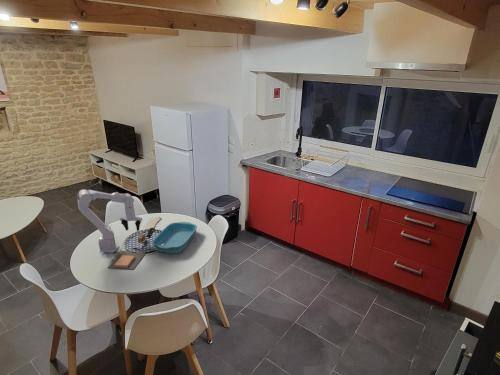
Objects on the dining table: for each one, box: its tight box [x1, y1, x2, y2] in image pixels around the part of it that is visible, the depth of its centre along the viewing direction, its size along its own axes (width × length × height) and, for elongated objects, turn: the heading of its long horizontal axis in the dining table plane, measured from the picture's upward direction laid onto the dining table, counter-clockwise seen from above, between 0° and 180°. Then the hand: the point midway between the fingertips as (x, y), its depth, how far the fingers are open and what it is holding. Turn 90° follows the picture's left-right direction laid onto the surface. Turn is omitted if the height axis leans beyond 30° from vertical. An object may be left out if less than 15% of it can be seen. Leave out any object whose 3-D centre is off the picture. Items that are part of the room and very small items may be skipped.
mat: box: [107, 250, 146, 271], centre depth 195 cm, size 16×18×1 cm
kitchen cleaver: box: [145, 216, 162, 237], centre depth 234 cm, size 31×2×10 cm
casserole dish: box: [152, 221, 198, 254], centre depth 214 cm, size 37×22×7 cm, turn 168°
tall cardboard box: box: [137, 232, 147, 244], centre depth 212 cm, size 12×6×5 cm, turn 174°
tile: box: [114, 255, 135, 268], centre depth 192 cm, size 8×2×10 cm
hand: (132, 230), depth 212 cm, fingers open, 7 cm apart
